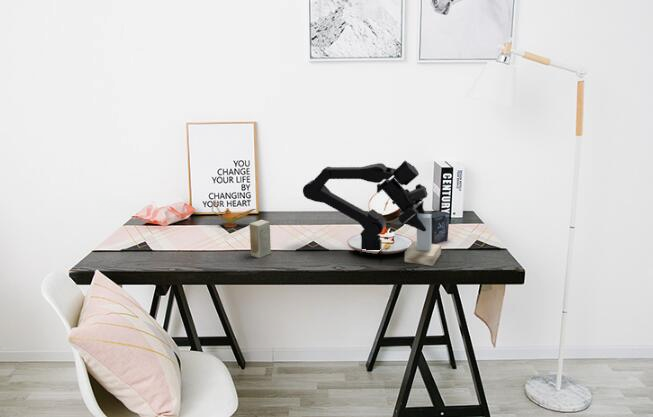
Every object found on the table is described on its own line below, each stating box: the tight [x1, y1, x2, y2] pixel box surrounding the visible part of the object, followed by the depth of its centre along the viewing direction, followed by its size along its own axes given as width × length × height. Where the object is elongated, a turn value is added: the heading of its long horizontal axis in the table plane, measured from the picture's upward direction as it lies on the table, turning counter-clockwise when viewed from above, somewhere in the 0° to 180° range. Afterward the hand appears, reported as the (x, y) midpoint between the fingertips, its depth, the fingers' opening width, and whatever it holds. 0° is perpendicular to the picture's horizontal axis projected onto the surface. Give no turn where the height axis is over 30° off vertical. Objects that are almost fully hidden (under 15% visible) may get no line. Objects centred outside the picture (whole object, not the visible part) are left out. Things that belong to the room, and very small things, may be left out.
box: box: [427, 210, 450, 244], centre depth 235 cm, size 8×6×11 cm
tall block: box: [416, 213, 432, 251], centre depth 216 cm, size 4×4×12 cm
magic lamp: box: [211, 199, 257, 228], centre depth 252 cm, size 7×18×11 cm, turn 94°
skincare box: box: [249, 219, 272, 259], centre depth 220 cm, size 6×4×12 cm
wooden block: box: [404, 241, 442, 267], centre depth 219 cm, size 10×12×4 cm
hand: (427, 226), depth 215 cm, fingers open, 9 cm apart
